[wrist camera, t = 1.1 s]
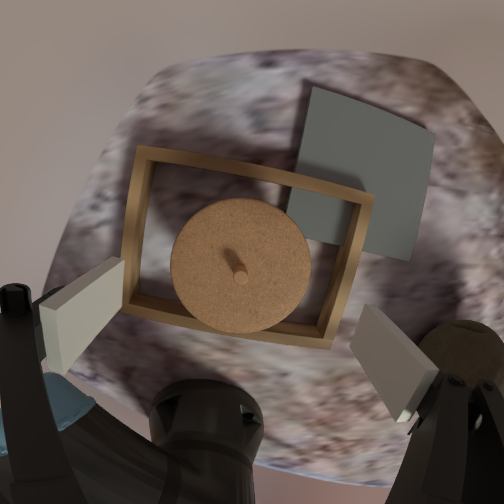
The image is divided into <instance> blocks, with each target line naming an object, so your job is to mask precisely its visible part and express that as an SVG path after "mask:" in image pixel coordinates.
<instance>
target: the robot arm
mask: <svg viewBox="0 0 504 504" xmlns="http://www.w3.org/2000/svg"><path fill="white" fill-rule="evenodd" d="M124 263H125V259H122V258H117V257H113V256H112V257H110V258H108V259H107V260H105V261H104V262H102V263H101V264H99V265H97V266H96V267H94V268H93V269H91V270H90V271H88V272H86V273H85V274H83V275H82V276H80V277H79V278H77V279H76V280H74V281H73V282H71V283H70V284H68V285H67V286H61V287H57V288H54V289H52V290H51V291H49V292H48V293H47V294H45V295H43V296H42V297H40V298H39V299H37V300H36V301H35V302H33V303H32V300H31V290H30V288H29V287H28V286H27V285H24V284H19V283H12V284H7V285H4V286H3V287H1V288H0V307H1V313H0V399H1V408H0V504H255V495H254V482H253V469H252V464H253V462H254V459H255V457H256V454H257V451H258V449H259V446H260V443H261V441H262V438H263V433H264V424H263V415H262V412H261V409H260V407H259V406H258V404H257V403H256V402H255V400H254V399H253V398H252V397H250V396H249V395H248V394H247V393H245V392H244V391H242V390H240V389H238V388H236V387H234V386H231V385H229V384H226V383H222V382H218V381H213V380H202V379H195V380H185V381H181V382H177V383H174V384H171V385H169V386H167V387H166V388H164V389H163V390H162V391H160V392H159V393H158V395H157V396H156V398H155V399H154V402H153V404H152V407H151V410H150V414H149V426H150V434H151V441H152V442H150V441H149V440H147V439H145V438H144V437H143V436H141V435H139V434H138V433H136V432H135V431H133V430H132V429H131V428H129V427H128V426H126V425H125V424H123V423H122V422H121V421H119V420H118V419H116V418H115V417H114V416H112V415H111V414H110V413H109V412H107V411H106V410H105V409H103V408H102V407H101V406H99V405H98V404H97V403H96V401H95V400H94V398H93V397H91V396H87V395H86V394H84V393H83V392H81V391H80V390H79V389H78V388H77V387H75V386H74V385H73V384H72V383H70V382H69V381H68V380H67V379H66V378H64V377H63V376H61V375H60V374H62V375H65V373H66V372H67V371H68V370H69V368H70V367H71V366H72V365H73V364H74V362H75V361H76V360H77V359H78V357H79V356H80V355H81V354H82V353H83V351H84V350H85V349H86V348H87V347H88V345H89V344H90V343H91V342H92V341H93V339H94V338H95V337H96V336H97V335H98V334H99V332H100V331H101V330H102V329H103V328H104V327H105V325H106V324H107V323H108V322H109V321H110V320H111V318H112V317H113V316H114V315H115V314H116V313H117V312H118V311H119V309H120V308H121V307H122V293H123V276H124ZM350 348H351V349H352V351H353V353H354V354H355V356H356V358H357V359H358V361H359V362H360V364H361V366H362V367H363V369H364V370H365V372H366V374H367V375H368V377H369V379H370V380H371V382H372V384H373V385H374V387H375V388H376V390H377V392H378V393H379V395H380V397H381V398H382V400H383V402H384V403H385V405H386V407H387V408H388V410H389V412H390V413H391V415H392V417H393V419H394V420H395V422H405V421H410V419H411V418H412V416H413V415H414V413H415V411H416V410H417V412H418V413H419V415H420V416H419V418H418V419H417V421H416V422H415V424H414V425H413V427H412V428H411V430H410V431H409V432H408V434H407V435H410V434H411V433H412V435H411V438H410V441H409V445H408V447H407V450H406V453H405V456H404V459H403V461H402V464H401V467H400V469H399V472H398V474H397V477H396V479H395V482H394V484H393V486H392V489H391V491H390V493H389V496H388V498H387V500H386V503H385V504H504V398H503V396H502V394H501V392H500V390H499V388H498V387H497V386H496V385H495V384H494V382H492V381H491V380H486V379H479V380H478V382H477V384H476V386H475V387H474V388H471V387H467V383H466V382H465V381H464V380H463V379H462V378H461V377H459V376H458V375H455V374H451V373H447V374H443V373H442V372H441V371H440V370H439V368H438V367H437V366H436V365H435V364H434V363H433V362H432V361H431V360H430V359H429V358H428V357H427V356H426V355H425V354H424V353H423V352H422V351H421V350H420V349H419V348H418V347H417V346H416V345H415V344H414V343H413V342H412V341H411V340H410V339H409V338H408V337H407V336H406V335H405V334H404V333H403V332H402V331H401V330H400V329H399V328H398V327H397V326H396V325H395V324H394V323H393V322H392V321H391V320H390V319H389V318H388V317H387V316H386V315H385V314H384V313H383V312H382V311H381V310H380V309H379V308H378V307H377V306H376V305H369V304H365V305H364V308H363V311H362V314H361V317H360V319H359V322H358V325H357V328H356V330H355V333H354V336H353V338H352V341H351V344H350ZM45 357H46V359H47V365H48V368H49V369H50V370H53V371H55V372H58V373H60V374H57V373H53V372H48V373H47V372H46V373H43V371H42V366H41V361H42V360H43V359H44V358H45ZM481 419H482V421H481ZM480 421H481V424H480V426H479V427H478V429H477V428H476V426H477V425H478V423H479V422H480Z"/></svg>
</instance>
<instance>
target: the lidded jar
mask: <svg viewBox="0 0 504 504" xmlns="http://www.w3.org/2000/svg"><path fill="white" fill-rule="evenodd" d="M170 271H171V279H172V282H173V286H174V289H175V291H176V293H177V296H178V298H179V299H180V301H181V302H182V304H183V305H184V307H185V308H186V309H187V310H188V311H189V312H190V313H191V314H192V315H193V316H194V317H196V318H197V319H198V320H199V321H201V322H203V323H204V324H206V325H208V326H210V327H212V328H215V329H217V330H221V331H225V332H230V333H251V332H257V331H261V330H264V329H267V328H269V327H271V326H273V325H275V324H277V323H279V322H280V321H282V320H283V319H285V318H286V317H287V316H288V315H289V314H290V313H291V312H292V311H293V310H294V309H295V308H296V307H297V305H298V304H299V303H300V301H301V299H302V298H303V296H304V294H305V292H306V289H307V287H308V284H309V279H310V274H311V258H310V251H309V248H308V245H307V241H306V239H305V237H304V235H303V233H302V231H301V230H300V229H299V227H298V226H297V224H296V223H295V222H294V221H293V220H292V219H291V218H290V217H289V216H288V215H287V214H286V213H284V212H283V211H281V210H280V209H279V208H277V207H275V206H273V205H271V204H269V203H267V202H264V201H261V200H257V199H252V198H229V199H224V200H220V201H217V202H215V203H212V204H210V205H208V206H206V207H204V208H203V209H201V210H200V211H198V212H197V213H196V214H195V215H193V216H192V217H191V218H190V219H189V220H188V221H187V222H186V224H185V225H184V226H183V227H182V229H181V231H180V232H179V234H178V235H177V238H176V240H175V243H174V245H173V249H172V253H171V261H170Z"/></svg>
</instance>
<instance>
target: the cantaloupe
mask: <svg viewBox="0 0 504 504" xmlns="http://www.w3.org/2000/svg"><path fill="white" fill-rule="evenodd" d="M417 347H418V348H419V349H420V350H421V351H422V352H423V353H424V354H425V355H426V356H427V357H428V358H429V359H430V360H431V361H432V362H433V363H434V364H435V365H436V366H437V367H438V368H439V370H440V371H441V372H442V373H443V374H447V373H451V374H455V375H458V376H459V377H461V378H462V379H463V380H464V381H465V382H466V383H467V387H471V388H474V387H475V386H476V384H477V382H478V380H479V379H486V380H491V381H492V382H494V384H495V385H496V386H497V387H498V388H499V390H500V392H501V394H502V396H503V398H504V343H503V341H502V340H501V338H500V337H499V336H498V335H497V334H496V332H494V331H493V330H492V329H491V328H489V327H488V326H486V325H484V324H482V323H479V322H475V321H471V320H455V321H450V322H446V323H443V324H441V325H439V326H438V327H436V328H434V329H433V330H431V331H430V332H429V333H428V334H427V335H426V336H425V337H424V338H423V339H422V340H421V342H420V343H419V345H418V346H417ZM418 414H419V413H418ZM419 416H420V415H419ZM481 421H482V419H481ZM481 421H480V422H479V423H478V425H477V426H476V428H477V429H478V427H479V426H480V424H481Z"/></svg>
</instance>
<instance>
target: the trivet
mask: <svg viewBox="0 0 504 504" xmlns="http://www.w3.org/2000/svg"><path fill="white" fill-rule="evenodd" d="M434 140H435V134H434V133H432V132H430V131H428V130H426V129H424V128H422V127H420V126H418V125H416V124H413V123H411V122H409V121H407V120H405V119H402V118H400V117H398V116H396V115H393V114H391V113H388V112H386V111H384V110H381V109H379V108H376V107H373V106H371V105H368V104H366V103H363V102H360V101H357V100H355V99H352V98H349V97H346V96H343V95H340V94H337V93H334V92H331V91H328V90H324V89H321V88H318V87H314V86H313V87H312V88H311V89H310V93H309V98H308V103H307V108H306V113H305V118H304V123H303V128H302V132H301V137H300V142H299V147H298V152H297V156H296V161H295V166H294V171H293V173H297V174H301V175H305V176H309V177H313V178H317V179H320V180H324V181H328V182H332V183H335V184H339V185H342V186H346V187H349V188H353V189H356V190H360V191H363V192H366V193H370V194H373V195H375V198H374V203H373V207H372V212H371V216H370V220H369V224H368V228H367V232H366V236H365V240H364V244H363V248H362V251H366V252H370V253H374V254H379V255H383V256H387V257H392V258H396V259H400V260H404V261H408V262H410V259H411V255H412V252H413V248H414V244H415V240H416V236H417V233H418V228H419V224H420V220H421V216H422V211H423V207H424V202H425V197H426V192H427V186H428V181H429V175H430V169H431V162H432V156H433V148H434ZM353 208H354V203H353V202H349V201H346V200H342V199H338V198H335V197H331V196H327V195H323V194H319V193H315V192H311V191H307V190H303V189H299V188H295V187H290V189H289V194H288V198H287V203H286V207H285V212H284V213H286V214H287V215H288V216H289V217H290V218H291V219H292V220H293V221H294V222H295V223H296V224H297V226H298V227H299V229H300V230H301V231H302V233H303V235H304V237H305V238H307V239H311V240H316V241H321V242H325V243H330V244H334V245H339V246H343V247H344V244H345V240H346V237H347V233H348V229H349V224H350V220H351V216H352V212H353Z"/></svg>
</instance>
